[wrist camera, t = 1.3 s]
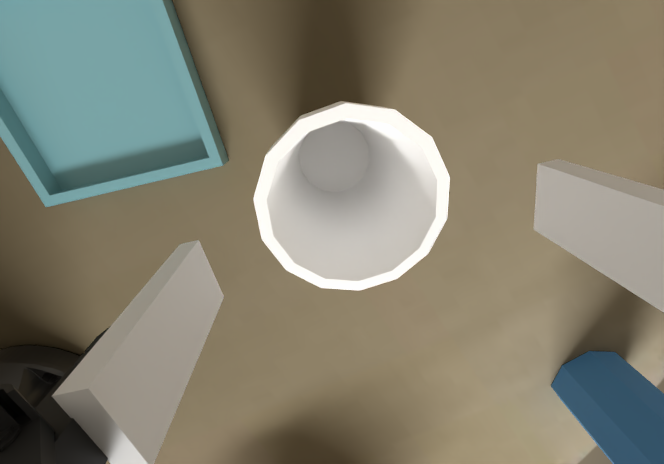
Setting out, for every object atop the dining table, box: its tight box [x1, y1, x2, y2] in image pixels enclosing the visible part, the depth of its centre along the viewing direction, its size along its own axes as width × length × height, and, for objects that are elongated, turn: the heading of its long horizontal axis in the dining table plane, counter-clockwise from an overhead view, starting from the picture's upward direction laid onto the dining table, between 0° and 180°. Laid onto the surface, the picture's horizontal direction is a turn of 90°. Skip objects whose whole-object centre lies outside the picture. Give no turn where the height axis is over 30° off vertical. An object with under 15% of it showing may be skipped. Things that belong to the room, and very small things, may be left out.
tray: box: [0, 0, 229, 207], centre depth 23 cm, size 15×15×2 cm
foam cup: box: [253, 101, 450, 291], centre depth 21 cm, size 10×9×13 cm
